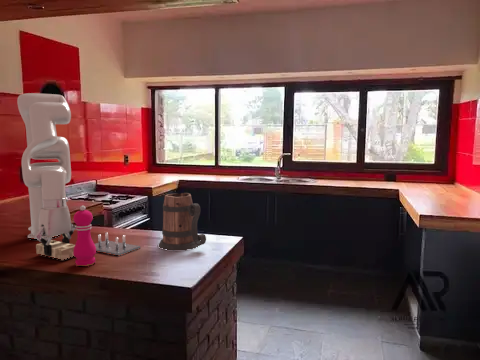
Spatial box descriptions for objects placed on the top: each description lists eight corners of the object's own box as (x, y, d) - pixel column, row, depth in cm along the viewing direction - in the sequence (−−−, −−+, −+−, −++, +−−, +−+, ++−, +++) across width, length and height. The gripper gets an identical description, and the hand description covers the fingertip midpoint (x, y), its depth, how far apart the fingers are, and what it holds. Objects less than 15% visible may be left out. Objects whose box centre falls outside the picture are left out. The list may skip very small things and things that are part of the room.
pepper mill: (99, 260, 138) (97, 203, 136) (92, 267, 131) (89, 207, 129) (78, 260, 138) (75, 203, 136) (70, 267, 131) (67, 207, 128)
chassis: (83, 249, 151) (83, 235, 151) (106, 242, 161) (105, 229, 160) (118, 256, 143) (118, 241, 142) (140, 248, 152) (139, 234, 151)
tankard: (148, 245, 157) (147, 194, 155) (183, 236, 169) (181, 190, 167) (186, 257, 141) (184, 201, 139) (220, 247, 153) (220, 196, 151)
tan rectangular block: (36, 254, 143) (35, 244, 143) (52, 249, 149) (52, 240, 149) (62, 260, 137) (61, 250, 136) (78, 255, 142) (78, 245, 142)
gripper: (68, 198, 150) (70, 244, 152) (24, 206, 135) (27, 257, 137) (82, 200, 146) (84, 247, 149) (38, 208, 131) (41, 261, 134)
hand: (57, 252), depth 143 cm, fingers closed on tan rectangular block, 6 cm apart
